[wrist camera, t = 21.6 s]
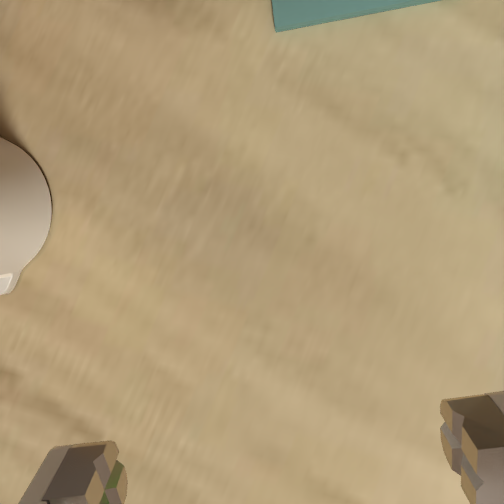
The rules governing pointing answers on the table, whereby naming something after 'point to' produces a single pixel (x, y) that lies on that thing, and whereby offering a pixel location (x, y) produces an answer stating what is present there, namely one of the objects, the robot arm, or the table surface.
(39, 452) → the table surface
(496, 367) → the table surface
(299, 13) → the socket block
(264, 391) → the table surface
